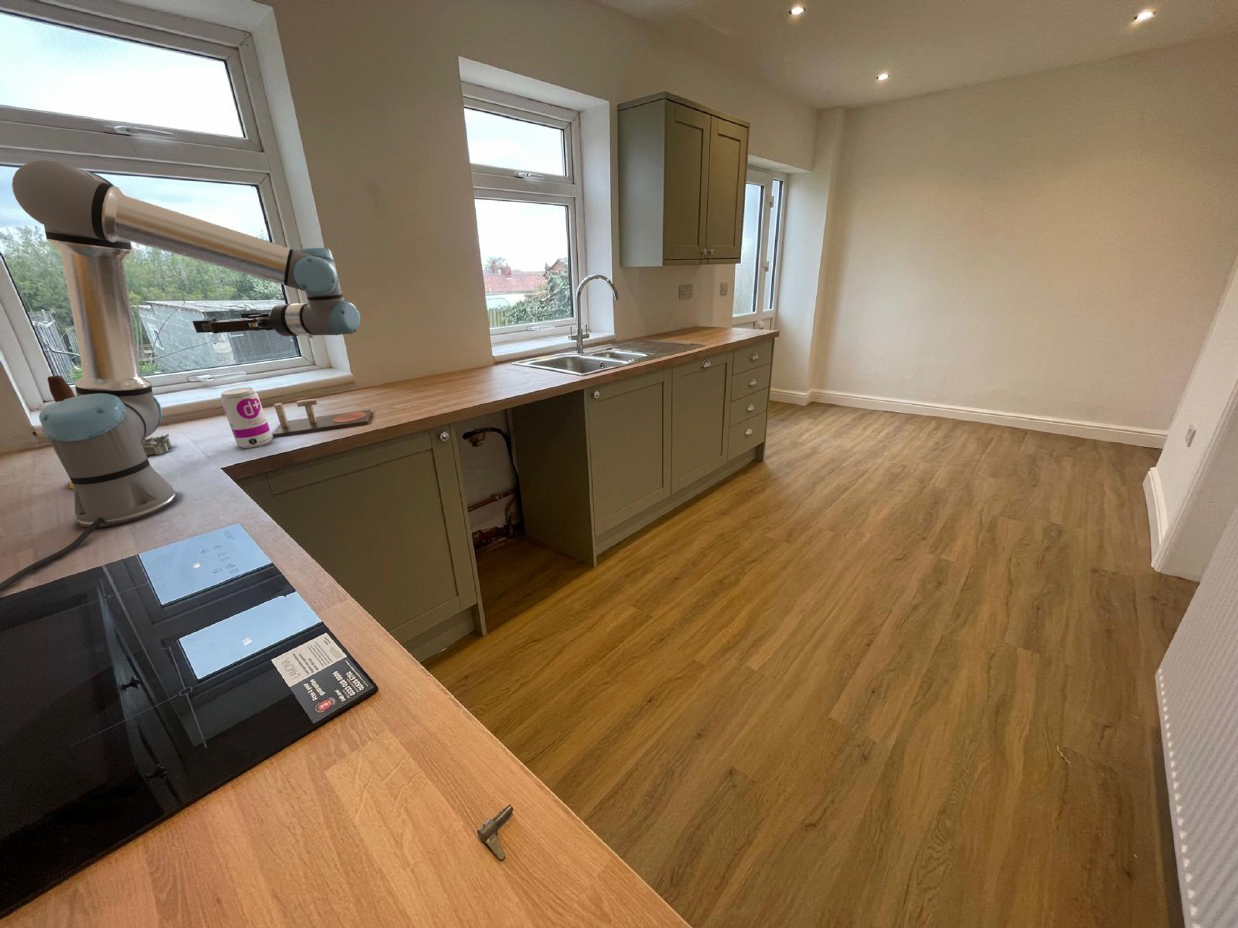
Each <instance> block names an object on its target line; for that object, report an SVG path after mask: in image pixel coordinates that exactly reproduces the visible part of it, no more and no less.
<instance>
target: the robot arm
mask: <svg viewBox="0 0 1238 928" xmlns="http://www.w3.org/2000/svg"><path fill="white" fill-rule="evenodd" d="M11 187H12V193H13V195H14V198H15V200H16V202H17V203H18V205H19V206H20V207H21V209H22V210H23V211H24V212H25V213H26V214H27V215H29V217H31V218H32V219H34V220H35V221H36V222H38V223H39V224H42V225H43V227H44V233H45V238H46V241H47V242H48V243H49V244H51V245H52V246H53V247H54V248H55V249H57V250H58V251H59V252H60V255H61V260H62V266H63V272H64V277H65V282H66V287H67V293H68V300H69V303H70V309H71V314H72V315H71V316H72V320H73V325H74V331H75V336H76V341H77V346H78V352H79V357H80V358H79V359H80V362H81V363H80V364H81V368H82V373H83V374H82V376H81V377H80V378H79V379H78V380H76V381H75V382H74V389H75V393H76V395H75V397H72V398H68V399H64V400H63V401H60V402H55V401H54V402H53V403H51V404H49V405H47V406H45V407H44V408H43V409H41V411H40V412H39V415H38V419H39V422H40V424H41V427H42V432H43V433H44V435H45V436H46V437H47V439H48V441H49V443H50V445H51V446H52V448H53V450H54V452H55V454H56V456H57V457H58V460H59V461H60V463H61V465H62V467H63V468H64V471H65V472H66V474H67V476H68V478H69V480H70V481H72V483H73V486H74V489H73V491H74V514H75V518H76V520H77V522H78V524H79V526H80V527H82V528H86V529H85V530H84V531H82V532H81V534H79V536H78V537H77V538H76V539H75V540H74V541H73V542H71V543H70V544H69V545H67V546H66V547H64V548H62V549H60V550H58V551H57V552H55V553H52V554H51V555H49V556H46V557H44V558H42V559H40V560H37V561H36V562H33V563H32V564H30V565H28V566H26V567H24V568H23V569H21V570H19V571H16V573H14V574H12V575H11V576H9V577H8V578H6V579H5V580H3V581H2V582H0V592H2V591H3V590H5V589H6V588H7V587H9V586H10V585H12V584H14V583H15V582H16V581H18V580H19V579H21V578H22V577H25V576H26V575H28V574H29V573H31V572H33V571H34V570H36V569H38V568H40V567H42V566H45V565H46V564H49V563H51V562H53V561H55V560H57V559H59V558H61V557H63V556H64V555H67V554H69V552H71V551H73V550H75V549H76V548H77V547H79V546H80V545H81V544H82V543H84V541H85V540H86V539H87V538H88V537H89V536H90V535H91V534H92V533H93V532H94V531H96V529H102V528H109V527H114V526H115V527H116V526H120V525H123V524H128V523H131V522H134V521H138V520H142V519H144V518H147V517H150V516H153V515H154V514H157V513H159V512H161V511H163V510H165V509H167V508H168V507H170V506H172V504H174V503H175V502H176V501H177V499H178V495H177V493H176V491H175V489H174V488H173V486H172V485H170V484H169V483H168V481H166V480H165V478H164V477H162V476H161V475H160V474H159V473H158V472H157V471H156V470H155V469H154V468H153V467H152V465H151V463H150V461H149V458H148V455H147V456H146V454H145V452H144V450H143V447H142V445H141V442H142V441H143V440H144V439H148V437H150V436H151V435H152V434H153V433H155V432H156V431H157V429H158V428H159V426H160V424H161V421H162V418H163V410H162V406H161V404H160V402H159V401H158V399H157V398H156V397H155V396H154V391H153V387H152V383H151V381H149V380H148V379H147V378H145V377H143V375H141V368H140V362H139V355H138V349H137V343H136V336H135V329H134V322H133V316H132V309H131V303H130V296H129V290H128V289H129V288H128V283H127V276H126V271H125V270H126V269H125V263H124V262H125V261H124V259H125V257H127V256H128V255H129V254H131V253H132V251H133V249H132V243H135V244H138V245H142V246H146V247H148V248H152V249H156V250H159V251H163V252H167V253H170V254H174V255H177V256H179V257H180V256H181V257H184V258H187V259H191V260H195V261H198V262H202V263H206V264H209V265H213V266H216V267H220V268H223V269H227V270H229V271H230V270H231V271H234V272H237V273H241V274H244V275H247V276H251V277H255V278H258V279H262V280H265V281H269V282H273V283H275V284H280V285H283V286H285V287H286V286H287V287H288V288H292V289H296V290H300V291H303V292H305V295H306V299H307V302H302V303H300V302H299V303H282V304H275V305H274V306H272V307H271V310H270V311H267V312H244V313H240V317H241V318H235V319H234V318H233V319H225V320H223V319H222V320H219V319H217V318H216V317H212V319H209V320H208V319H207V320H206V319H205V320H192V321H191V322H192V324H193V327H194V329H195V332H196V334H201V333H202V334H203V333H206V334H207V333H212V334H214V335H218V334H225V333H238V332H247V331H253V332H255V331H257V332H258V331H275V332H276V333H277V334H279V335H281V336H282V337H298V336H299V337H303V336H308V338H309V339H312V338H314V336H341V335H353V334H355V333H356V332H357V331H358V330H359V328H360V326H361V315H360V312H359V310H357V307H356V306H355V305H354V304H353V303H352V302H350V301H345V298H344V295H343V292H342V287H341V283H340V279H339V275H338V271H337V268H336V267H337V266H336V262H335V259H334V257H333V254H332V253H333V252H332V251H331V250H330V249H329V248H328V247H306V248H305V247H304V248H297V249H293V248H290V247H288V246H285V245H280V244H278V243H274V242H272V241H268V240H265V239H262V238H259V237H256V236H253V235H250V234H246V233H243V232H241V231H238V230H234V229H231V228H228V227H226V226H225V227H224V226H221V225H218V224H216V223H212V222H209V221H206V220H203V219H200V218H196V217H193V216H191V215H187V214H185V213H181V212H178V211H176V210H172V209H168V208H165V207H162V206H159V205H157V204H153V203H150V202H147V201H144V200H141V199H138V198H135V197H131V196H128V195H126V194H125V193H124V192H123V191H122V189H121V188H120V187H118V186H116V185H114V184H113V183H112V182H110V181H109V180H108V179H107V178H104V176H103V177H102V176H101V175H99V174H96V173H94V172H92V171H88V170H85V169H81V168H79V167H75V166H72V165H70V164H67V163H63V162H60V161H56V160H47V159H46V160H45V159H43V160H42V159H41V160H34V161H30V162H27V163H25V164H23V165H21V166H20V167H19V168H18V169H17V170H16V171H15V172H14V174H13V177H12V183H11Z"/></svg>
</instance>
